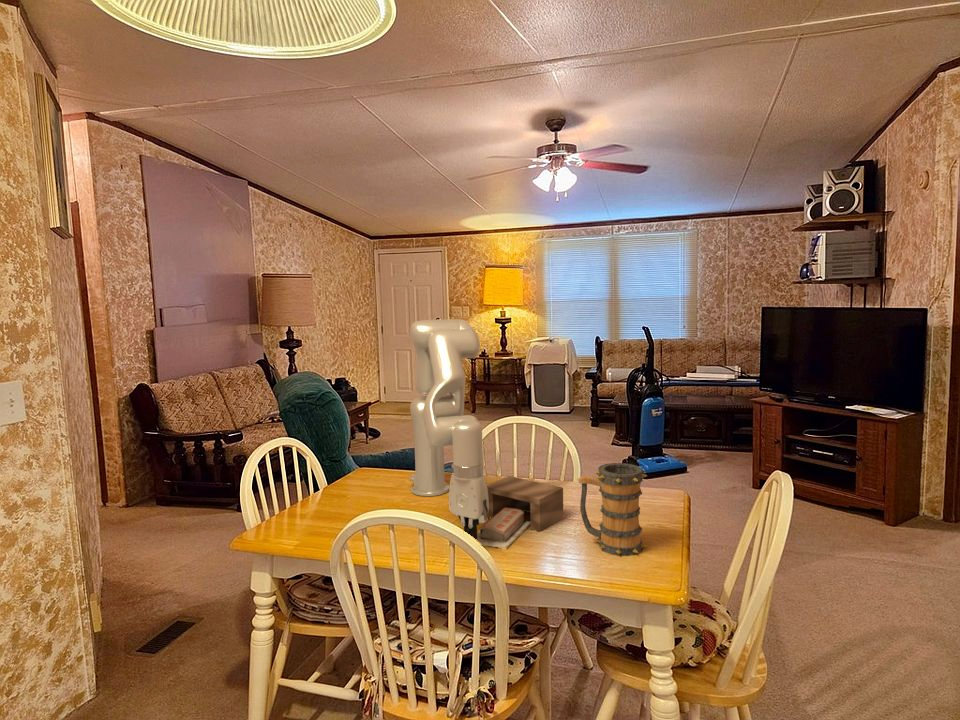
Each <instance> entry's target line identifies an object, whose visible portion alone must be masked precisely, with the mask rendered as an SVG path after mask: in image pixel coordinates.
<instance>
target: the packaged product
mask: <svg viewBox="0 0 960 720" xmlns="http://www.w3.org/2000/svg"><path fill="white" fill-rule="evenodd" d="M524 519H525V511H523V510H520V509H515V508H514V509H513V508H503V509H502V510H501V511H500V512H499V513H497V514H496V515H495V516H494V517H492V518H489V520H488V521H487V522H485V523H483V525H481V527H480V529H479V531H478V532H477V540H478V541H479V542H480V543H481V544H482V545H483V547H488V546H492V547H491V548H495V547H501V548H507V547H508V546H509V545H510V544H512V543H514V542H515V541H516V540H517V539H518V538H519V537H520V536H521V535H522V534H523V533H524V532H525V531H526V530H527V528H528V527H530V526H531V520H530V521H528V520H524ZM524 530H525V531H524ZM523 531H524V532H523ZM519 535H520V536H519ZM518 536H519V537H518ZM517 537H518V538H517ZM516 538H517V539H516ZM515 539H516V540H515ZM514 540H515V541H514ZM513 541H514V542H513ZM482 545H481V546H482ZM510 546H511V545H510ZM510 546H509V547H510ZM509 547H508V548H509ZM508 548H507V549H508Z"/></svg>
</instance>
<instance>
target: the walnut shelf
mask: <svg viewBox="0 0 960 720" xmlns="http://www.w3.org/2000/svg"><path fill="white" fill-rule="evenodd" d="M487 489H488V498H489V512H488V514H487V518H488V517H491V518H492V517H494V516H495V515H496V514H497V513H499V512H500V511H501V510H502V509H503V508H513V509H515V508H516V509H520V510H522V511H523V510H525V511H524V512H527V511H528V513H530V522H531V524H530V530H531V529H532V530H531V531H535V530H536V531H535V532H540V531H541V532H542V531H544V530H545V529H548V528H549V527H551V526H553V525H554V523H555V524H556V523H558V522H559V520H560V521H561V520H563V519H564V487H563V486H558V485H552V484H549V483H548V484H547V483H543V482H540V481H539V482H538V481H535V480H529V479H523V478H519V477H515V476H511V475H507V476H506V477H503V478H501V479H499V480H496V481H494V482H491V483H489V484H487ZM491 518H490V519H491ZM562 518H563V519H562ZM547 527H548V528H547Z"/></svg>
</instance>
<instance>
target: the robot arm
mask: <svg viewBox="0 0 960 720" xmlns="http://www.w3.org/2000/svg"><path fill="white" fill-rule="evenodd" d="M409 333H410V334H409V335H410V340H411V343H412V345H413V348H414V351H415V389H416V390H417V392H418V393H419V394H421V395H422V396H417V397H415V398H414V399H413V400H412V401H411V402H410V406H409V409H410V410H409V411H410V417H411V423H412V428H413V438H414V439H413V440H414V461H415V463H414V465H415V466H414V467H415V468H414V469H415V470H414V471H415V473H412V475H411V476H410V477H409V478H408V479H409V480H408V481H410V482H413V486H411V493H412V494H414V495H417V496H422V497H434V496H435V497H436V496H440V495H444V494H446V493H448V508H449V511H450V513H452V515H454V516H456V517H457V518H458V519H459V520H460V523H461V526H462V527H463V532H464V531H465V532H467V533H468V534H470V535H471V536H473V537H474V538H475V539H477V534H478V526H479V525H480V524H486V523H487V522H488V521H489V520H488V519H489V518H488V517H487V514H488V512H489V498H488V489H487V485H488V484H487V479H486V476H484V451H483V447H484V446H483V444H484V443H483V427H482V424H481V423H480V421H479V420H478V418H477V417H475V416H474V415H472V414H471V415H464V413H465V412H464V411H465V396H466V374H465V371H464V365H463V359H474V358H477V356H478V355H479V354H480V351H481V347H480V346H481V345H480V343H481V342H480V339H479V336H478V333H477V331H476V330H475V329H474V327H472V325H470V323H469V322H468V321H466V320H465V319H461V318H458V319H457V318H453V319H451V318H449V319H422V320H416V321H414V322H412V323H411V326H410V329H409ZM448 446H449V447H450V446H452V456H453V457H452V459H453V460H452V461H453V463H452V464H451V469H453V473H452V474H451V476H450V479H449V480H450V481H449V484H448V483H447V482H446V481H445V478H446V477H445V476H446V475H445V456H444V454H445V451H444V447H448Z"/></svg>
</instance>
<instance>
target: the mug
mask: <svg viewBox="0 0 960 720" xmlns="http://www.w3.org/2000/svg"><path fill="white" fill-rule="evenodd" d="M597 468H598V470H597V471H594V472H593V473H594V474H595V475H597V476H598V477H596V476H591V475H586V474H585V475H583V474H582V475H581V476H580V477H578V478H576V480H577V482H578V483H579V484H581V494H580V495H581V496H580V503H579V504H580V507H579V508H580V509H579V511H580V514H581V519H582V522H583V524H584V525H583V526H584V527H585V529H586V531H587V532H588V533H589V534H590V535H592V536H594V537H596V538H597V539H596V540H594V542H596V543H598V549H600V550H601V551H603V552H604V553H607V554H609V555H613V556H617V557H629V556H635V555H637V554H640V553H641V552H642V550H643V548H646V547H647V545H646V544H644V543H643V540H642V538H641V533H642V531H643V528H642V527H641V526H640V525H641V524H640V520H639V518H640V517H639V516H640V514H641V513H640V511H641V507H640V506H639V502H640V501H639V500H640V497H641V496H642V495H643V492H642V490H641V483H642V482H643V479H644V478H645V477H648V475H647V474H645V473H644V472H643V471H644V470H643V469H642V467H640V466H638V465H634V464H631V463H624V462H612V463H605V464H601V465H599V467H597ZM588 485H593V486H597V487H599V489H598V491H599V492H600V494H601V497H602V498H601V499H602V504H601V505H600V507H601V509H600V512H601V513H602V517H601V518H602V520H601V522H600V523H599V529H598V528H595V527H593V526H592V525H591V523H590V521H589V518H588V514H587V509H586V505H587V504H586V501H587V493H588V492H587V491H588Z"/></svg>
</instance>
